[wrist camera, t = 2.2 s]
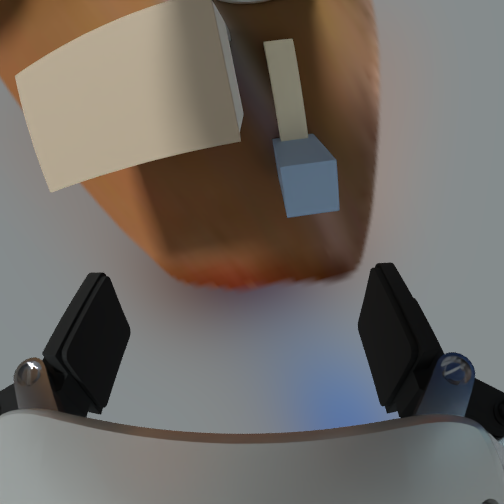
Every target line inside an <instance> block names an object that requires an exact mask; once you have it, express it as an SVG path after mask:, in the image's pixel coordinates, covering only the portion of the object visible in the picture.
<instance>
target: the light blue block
mask: <svg viewBox="0 0 504 504" xmlns="http://www.w3.org/2000/svg"><path fill="white" fill-rule="evenodd" d="M263 45H264V50H265V55H266V61H267V66H268V71H269V77H270V82H271V88H272V93H273V99H274V105H275V111H276V117H277V123H278V129H279V135H280V138H275V139H272V141H273V147H274V153H275V159H276V165H277V172H278V178H279V182H280V187H281V191H282V196H283V200H284V205H285V209H286V214H287V218H290V217H296V216H303V215H310V214H318V213H325V212H332V211H339V191H338V175H337V162H336V159H335V158H334V157H333V155H332V154H331V153H330V152H329V151H328V150H327V149H326V147H325V146H324V145H323V144H322V143H321V142H320V141H319V140H318V138H317V137H316V136H315V135H314V134H308V132H307V124H306V117H305V110H304V103H303V96H302V90H301V83H300V77H299V71H298V65H297V59H296V54H295V48H294V43H293V39H283V40H275V41H267V42H264V43H263Z"/></svg>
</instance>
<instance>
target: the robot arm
mask: <svg viewBox="0 0 504 504" xmlns="http://www.w3.org/2000/svg"><path fill="white" fill-rule="evenodd" d="M218 1H223V2H228V3H237V4H251V3H261V2H265V1H270V0H218ZM358 330H359V334H360V337H361V340H362V344H363V347H364V350H365V353H366V357H367V360H368V363H369V366H370V370H371V373H372V376H373V380H374V384H375V387H376V391H377V394H378V398H379V402H380V404H381V406H385V408H386V411H387V413H391V412H396V411H398V414H399V417H401V418H399V419H392V420H387V421H381V422H375V423H369V424H363V425H356V426H349V427H341V428H333V429H325V430H315V431H304V432H289V433H266V434H218V433H216V434H215V433H196V432H182V431H171V430H161V429H153V428H152V429H151V428H145V427H137V426H130V425H124V424H117V423H112V422H107V421H102V420H96V419H91V418H87V413H88V412H91V413H96V414H101V412H102V409H103V407H106V405H107V403H108V400H109V397H110V393H111V390H112V387H113V384H114V381H115V378H116V375H117V372H118V369H119V366H120V363H121V360H122V357H123V354H124V351H125V349H126V346H127V343H128V340H129V337H130V327H129V324H128V322H127V320H126V317H125V315H124V313H123V310H122V308H121V305H120V303H119V301H118V298H117V295H116V293H115V290H114V287H113V285H112V282H111V280H110V278H109V277H108V276H106V274H104V273H89V274H88V275H87V277H86V279H85V280H84V282H83V283H82V285H81V286H80V288H79V290H78V291H77V293H76V295H75V296H74V298H73V299H72V301H71V303H70V304H69V306H68V308H67V309H66V311H65V313H64V315H63V317H62V318H61V320H60V322H59V323H58V325H57V327H56V329H55V331H54V333H53V334H52V336H51V338H50V340H49V342H48V343H47V345H46V348H45V349H44V351H43V356H44V359H43V360H40V359H39V358H36V357H35V358H29V359H26V360H25V361H23V362H22V363H21V364H20V365H19V366H18V367H17V369H16V370H15V373H14V384H12V385H10V386H8V387H7V388H5V389H3V390H2V391H0V504H504V393H503V392H502V391H500V390H497V389H495V388H494V387H492V386H489V385H488V384H486V383H484V382H482V381H480V380H478V379H476V378H475V370H474V366H473V365H472V363H471V361H470V360H469V359H468V358H467V357H465V356H463V355H462V354H459V353H456V352H451V353H450V352H449V353H446V354H444V353H443V350H442V348H441V346H440V344H439V342H438V340H437V338H436V336H435V334H434V332H433V330H432V329H431V327H430V325H429V323H428V321H427V319H426V317H425V315H424V313H423V311H422V310H421V308H420V306H419V304H418V302H417V301H416V299H415V298H413V297H412V295H411V293H410V291H409V290H408V288H407V286H406V284H405V283H404V281H403V279H402V278H401V276H400V274H399V272H398V271H397V269H396V267H395V266H394V264H393V263H378V264H376V266H375V268H372V269H371V271H370V275H369V280H368V284H367V288H366V293H365V297H364V301H363V305H362V309H361V313H360V317H359V321H358Z"/></svg>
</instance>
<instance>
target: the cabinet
mask: <svg viewBox="0 0 504 504" xmlns="http://www.w3.org/2000/svg"><path fill="white" fill-rule="evenodd" d="M229 41H231V36H230V32H229V28H228V27H227V25H226V23H225V22H224V20H223V18H222V16H221V15H220V13H219V11H218V10H217V8H216V6H215V5H214V3H213V1H212V0H170V1H167V2H164V3H161V4H158V5H155V6H152V7H149V8H146V9H143V10H140V11H138V12H135V13H132V14H130V15H127V16H125V17H122V18H120V19H117V20H115V21H112V22H110V23H108V24H106V25H103V26H101V27H99V28H97V29H95V30H92V31H90V32H88V33H86V34H84V35H82V36H80V37H78V38H76V39H74V40H73V41H71V42H69V43H67V44H65V45H63V46H62V47H60V48H58V49H56V50H55V51H53V52H51V53H49V54H48V55H46V56H44V57H43V58H41V59H40V60H38V61H36V62H35V63H33V64H32V65H30V66H29V67H27V68H26V69H24V70H23V71H21V72H20V73H18V74H17V75H16V76H15V78H16V83H17V88H18V92H19V96H20V100H21V104H22V108H23V112H24V116H25V119H26V123H27V126H28V130H29V133H30V136H31V139H32V142H33V146H34V149H35V152H36V154H37V158H38V160H39V163H40V166H41V169H42V171H43V174H44V177H45V180H46V182H47V185H48V187H49V190H50V192H54V191H57V190H59V189H62V188H65V187H68V186H70V185H73V184H76V183H79V182H82V181H85V180H88V179H91V178H95V177H98V176H101V175H104V174H107V173H111V172H114V171H117V170H121V169H124V168H128V167H131V166H135V165H138V164H142V163H146V162H150V161H154V160H157V159H161V158H165V157H169V156H174V155H178V154H182V153H187V152H191V151H195V150H200V149H205V148H210V147H215V146H220V145H225V144H230V143H235V142H241V137H240V129H241V124H242V119H243V115H244V114H243V108H242V103H241V98H240V93H239V88H238V83H237V79H236V74H235V69H234V64H233V59H232V54H231V49H230V44H229Z"/></svg>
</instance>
